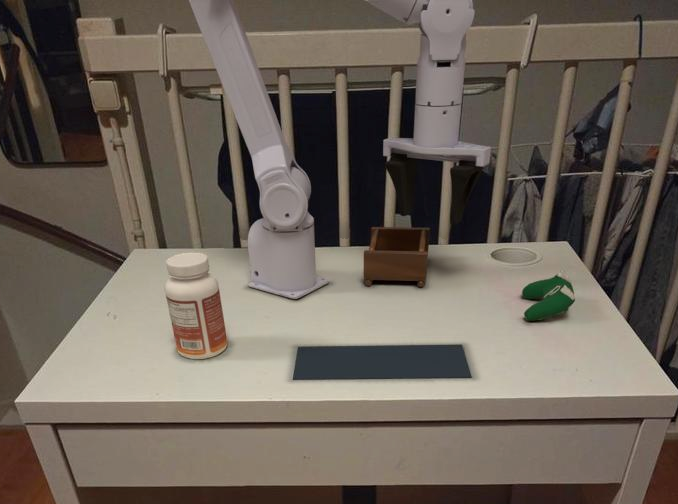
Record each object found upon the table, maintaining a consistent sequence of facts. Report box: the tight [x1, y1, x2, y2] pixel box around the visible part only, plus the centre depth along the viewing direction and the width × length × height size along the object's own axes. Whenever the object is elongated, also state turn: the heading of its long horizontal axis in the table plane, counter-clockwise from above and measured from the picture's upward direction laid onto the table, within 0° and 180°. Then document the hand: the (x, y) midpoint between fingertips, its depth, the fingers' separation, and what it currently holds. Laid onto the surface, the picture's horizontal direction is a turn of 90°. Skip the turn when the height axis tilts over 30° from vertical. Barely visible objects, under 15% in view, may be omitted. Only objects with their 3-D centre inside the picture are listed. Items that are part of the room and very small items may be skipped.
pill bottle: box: [164, 251, 228, 360], centre depth 73 cm, size 6×6×11 cm
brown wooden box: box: [363, 226, 431, 288], centre depth 93 cm, size 12×9×5 cm
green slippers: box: [521, 269, 576, 322], centre depth 81 cm, size 9×4×6 cm
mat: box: [292, 343, 473, 381], centre depth 72 cm, size 20×8×1 cm, turn 88°
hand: (430, 218), depth 85 cm, fingers open, 7 cm apart
